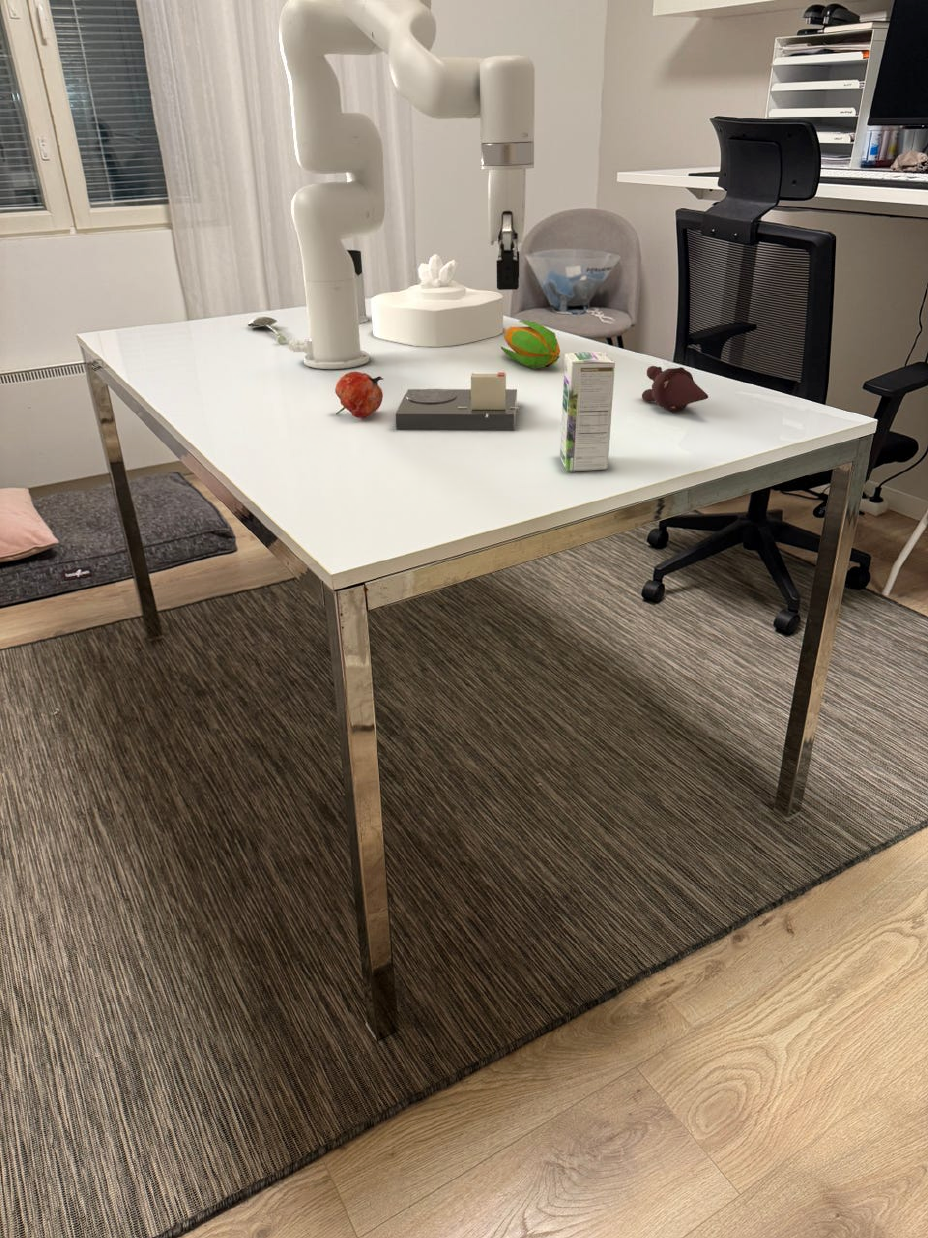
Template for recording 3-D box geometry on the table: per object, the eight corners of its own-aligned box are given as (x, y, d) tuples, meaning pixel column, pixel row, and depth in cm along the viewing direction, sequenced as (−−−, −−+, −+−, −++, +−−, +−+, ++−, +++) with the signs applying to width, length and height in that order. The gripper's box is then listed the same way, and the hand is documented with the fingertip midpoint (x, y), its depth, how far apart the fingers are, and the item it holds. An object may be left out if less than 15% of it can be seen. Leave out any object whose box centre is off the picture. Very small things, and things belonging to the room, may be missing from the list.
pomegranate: (337, 436, 146) (380, 402, 140) (311, 396, 145) (354, 360, 140) (360, 428, 152) (403, 394, 147) (336, 390, 151) (377, 355, 146)
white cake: (440, 316, 217) (438, 242, 210) (518, 330, 202) (519, 252, 194) (357, 333, 202) (351, 255, 194) (435, 350, 186) (432, 266, 179)
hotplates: (403, 403, 144) (403, 402, 144) (410, 389, 151) (410, 388, 151) (505, 403, 143) (505, 402, 143) (507, 389, 150) (507, 388, 150)
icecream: (731, 375, 140) (668, 364, 152) (694, 369, 136) (632, 358, 149) (719, 421, 142) (658, 406, 154) (683, 416, 138) (623, 401, 151)
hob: (394, 433, 139) (393, 415, 138) (408, 404, 153) (407, 388, 152) (518, 433, 138) (518, 416, 137) (521, 404, 152) (521, 388, 150)
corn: (535, 331, 164) (489, 312, 180) (531, 375, 167) (487, 352, 184) (571, 330, 166) (523, 311, 183) (567, 373, 170) (520, 351, 186)
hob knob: (471, 409, 140) (470, 375, 138) (472, 406, 142) (471, 371, 140) (505, 409, 140) (505, 375, 137) (505, 406, 142) (506, 371, 139)
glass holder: (326, 324, 212) (319, 254, 205) (343, 312, 224) (337, 246, 217) (362, 324, 211) (357, 254, 204) (378, 312, 223) (374, 246, 216)
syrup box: (558, 458, 128) (562, 352, 121) (600, 456, 128) (606, 350, 121) (566, 472, 123) (570, 362, 116) (609, 470, 123) (616, 360, 116)
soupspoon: (274, 327, 213) (246, 331, 211) (272, 312, 212) (243, 316, 210) (297, 342, 195) (267, 346, 193) (295, 325, 194) (264, 330, 192)
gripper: (483, 155, 139) (485, 276, 147) (478, 160, 124) (481, 294, 132) (533, 154, 138) (533, 274, 146) (534, 158, 123) (533, 293, 131)
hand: (508, 283), depth 139 cm, fingers open, 9 cm apart
